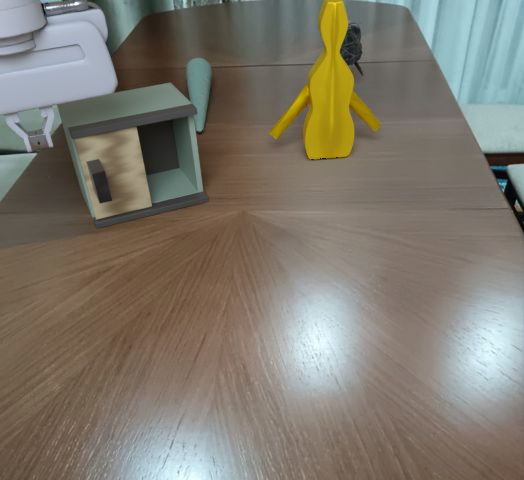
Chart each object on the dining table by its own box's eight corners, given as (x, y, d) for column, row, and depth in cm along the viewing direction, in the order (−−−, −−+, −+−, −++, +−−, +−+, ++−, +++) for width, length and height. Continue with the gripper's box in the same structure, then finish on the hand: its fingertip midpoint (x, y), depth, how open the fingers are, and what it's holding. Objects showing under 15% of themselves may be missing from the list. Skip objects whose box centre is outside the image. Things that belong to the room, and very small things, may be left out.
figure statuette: (376, 140, 94) (389, -16, 80) (387, 160, 89) (404, -4, 74) (268, 149, 94) (262, -6, 79) (273, 169, 88) (267, 6, 73)
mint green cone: (180, 104, 96) (183, 58, 116) (184, 136, 100) (187, 87, 120) (212, 101, 97) (210, 56, 116) (215, 133, 100) (213, 85, 120)
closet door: (101, 233, 74) (79, 150, 67) (95, 217, 78) (73, 136, 70) (159, 219, 76) (144, 137, 69) (150, 204, 80) (135, 124, 72)
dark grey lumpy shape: (363, 96, 111) (371, -27, 97) (305, 96, 112) (305, -24, 99) (363, 82, 117) (370, -35, 103) (307, 83, 118) (307, -32, 105)
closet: (96, 228, 77) (70, 132, 69) (81, 192, 86) (56, 103, 77) (208, 201, 81) (196, 108, 73) (183, 169, 90) (170, 82, 81)
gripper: (94, -10, 61) (123, 121, 70) (-114, 20, 56) (-53, 157, 65) (106, -1, 57) (135, 138, 66) (-119, 33, 51) (-53, 178, 61)
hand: (40, 148), depth 65 cm, fingers closed
